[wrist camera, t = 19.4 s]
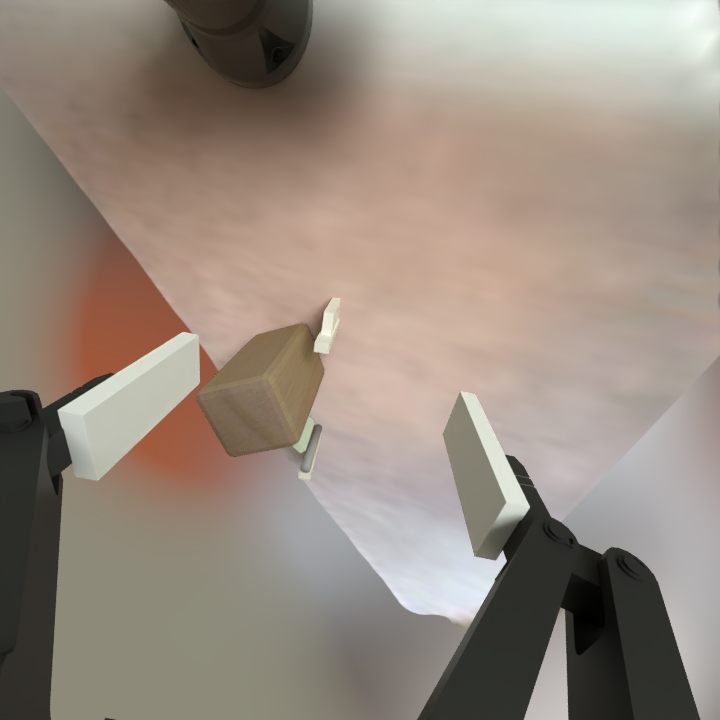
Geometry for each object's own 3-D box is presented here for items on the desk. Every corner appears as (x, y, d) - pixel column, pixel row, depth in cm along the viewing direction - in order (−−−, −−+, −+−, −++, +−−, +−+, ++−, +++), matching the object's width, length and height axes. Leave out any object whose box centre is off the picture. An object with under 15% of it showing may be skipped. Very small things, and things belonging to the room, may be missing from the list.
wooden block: (275, 383, 58) (227, 461, 40) (253, 334, 55) (189, 395, 36) (327, 372, 57) (300, 447, 39) (308, 319, 53) (268, 376, 35)
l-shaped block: (330, 297, 51) (317, 318, 41) (342, 299, 51) (333, 320, 41) (310, 446, 64) (296, 490, 54) (319, 448, 64) (308, 492, 54)
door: (314, 422, 61) (305, 450, 54) (304, 429, 62) (293, 457, 55) (242, 349, 56) (221, 370, 48) (231, 358, 56) (209, 379, 49)
